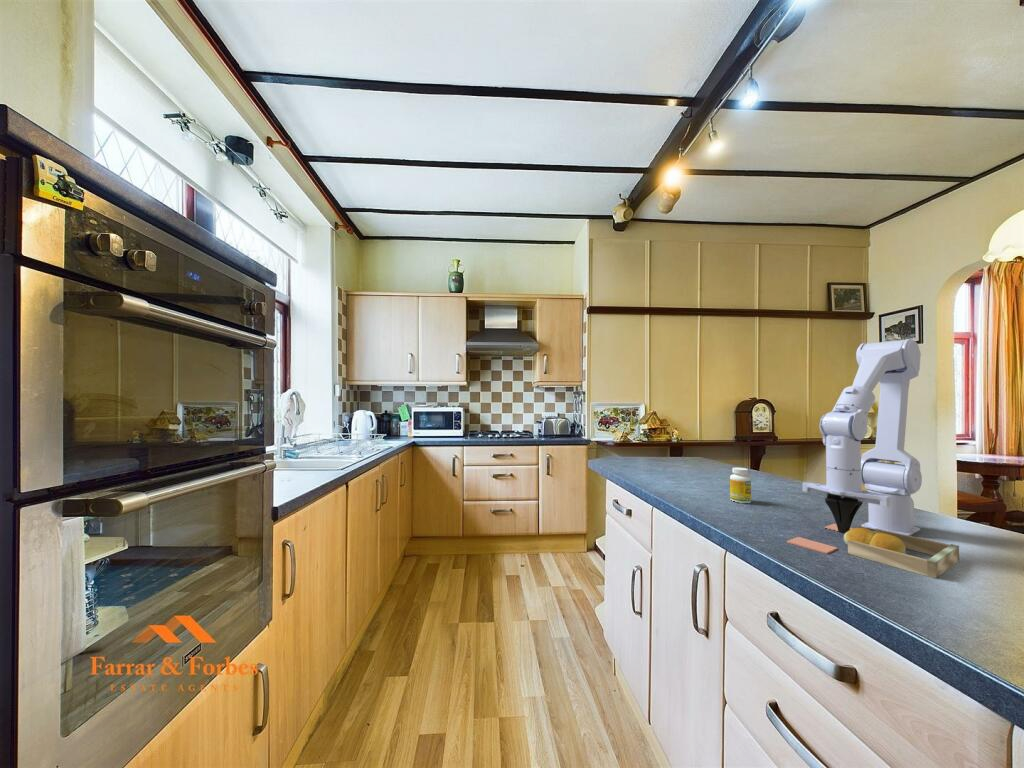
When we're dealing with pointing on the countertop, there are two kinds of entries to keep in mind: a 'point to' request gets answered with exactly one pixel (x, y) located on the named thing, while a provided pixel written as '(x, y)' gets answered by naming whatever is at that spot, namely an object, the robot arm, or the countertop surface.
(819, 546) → the mats
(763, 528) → the countertop surface
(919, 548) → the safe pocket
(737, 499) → the supplement bottle
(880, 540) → the bread roll
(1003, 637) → the countertop surface
